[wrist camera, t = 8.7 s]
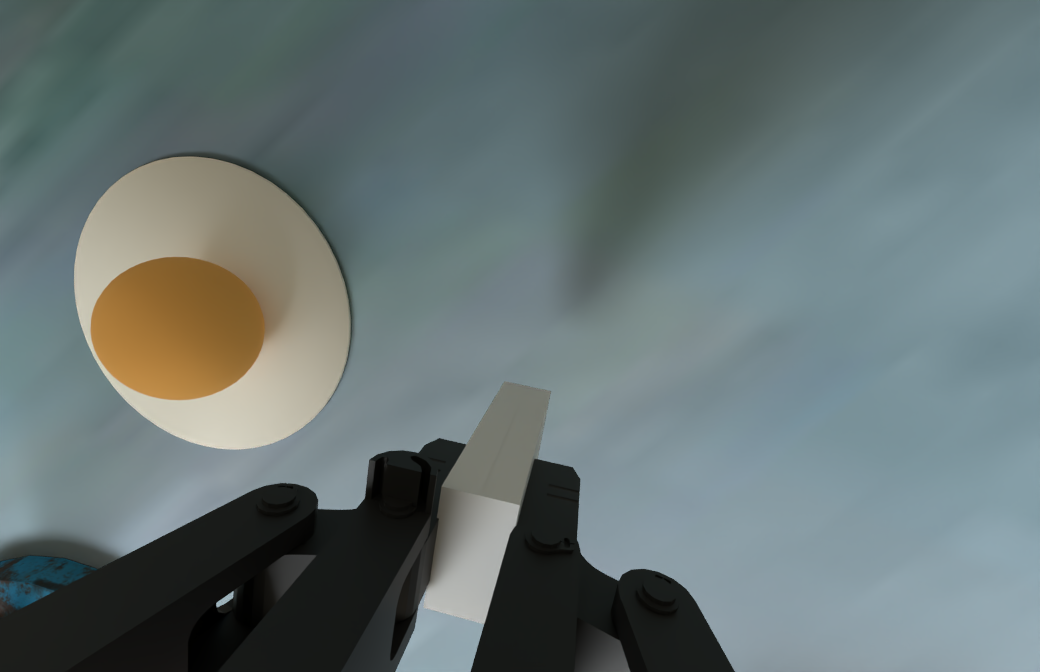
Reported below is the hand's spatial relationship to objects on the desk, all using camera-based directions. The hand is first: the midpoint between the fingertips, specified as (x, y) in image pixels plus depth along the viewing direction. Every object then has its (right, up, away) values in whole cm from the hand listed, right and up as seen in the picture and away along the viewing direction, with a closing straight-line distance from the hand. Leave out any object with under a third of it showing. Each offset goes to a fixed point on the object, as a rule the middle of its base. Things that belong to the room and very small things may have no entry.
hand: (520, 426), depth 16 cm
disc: (-14, +4, +6) cm, 16 cm away
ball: (-13, +3, +3) cm, 14 cm away
